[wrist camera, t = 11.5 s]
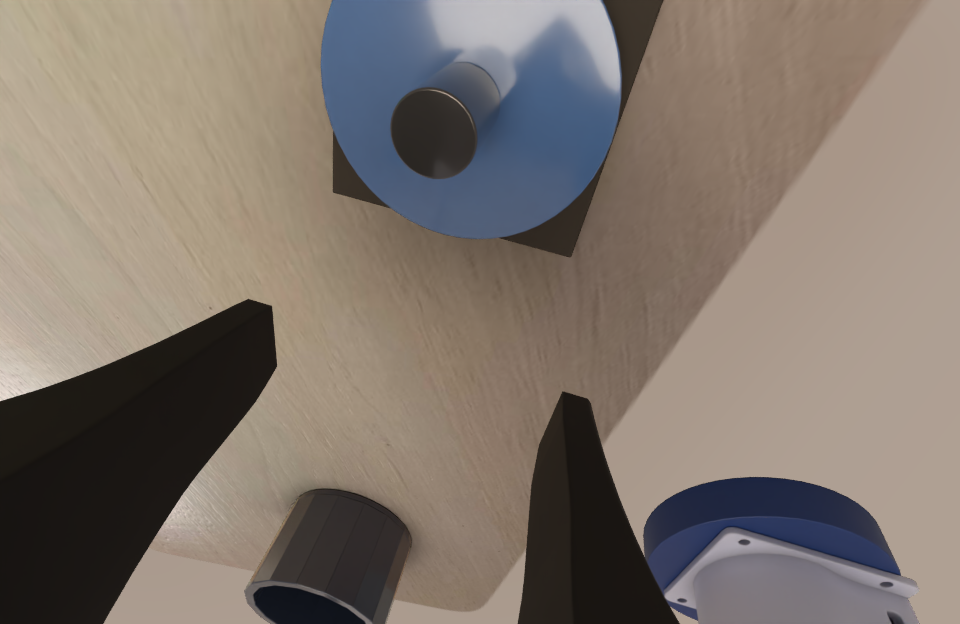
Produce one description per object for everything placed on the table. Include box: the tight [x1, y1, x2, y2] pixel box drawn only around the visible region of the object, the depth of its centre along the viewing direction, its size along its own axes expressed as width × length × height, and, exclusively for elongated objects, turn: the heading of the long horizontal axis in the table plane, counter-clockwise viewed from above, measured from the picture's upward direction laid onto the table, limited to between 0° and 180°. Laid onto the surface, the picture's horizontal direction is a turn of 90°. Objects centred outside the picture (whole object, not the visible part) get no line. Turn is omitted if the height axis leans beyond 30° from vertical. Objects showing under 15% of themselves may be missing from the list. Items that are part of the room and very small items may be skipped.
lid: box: [321, 0, 622, 239], centre depth 15 cm, size 10×10×5 cm
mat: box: [333, 0, 663, 257], centre depth 17 cm, size 10×10×1 cm
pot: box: [244, 489, 411, 624], centre depth 34 cm, size 9×9×6 cm
